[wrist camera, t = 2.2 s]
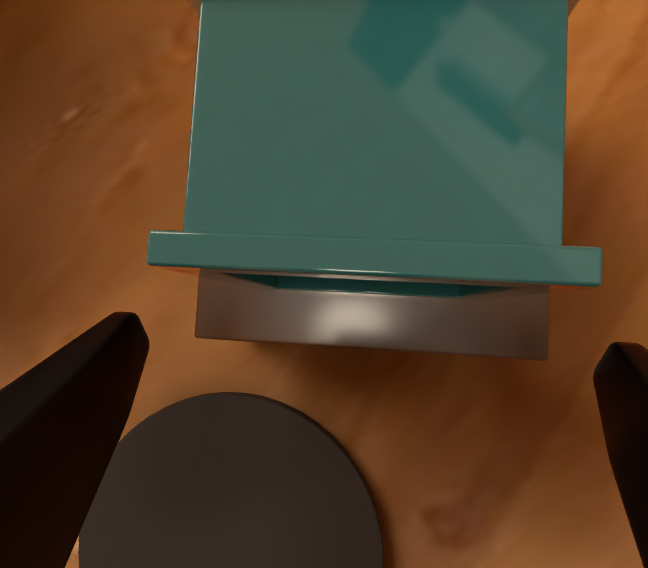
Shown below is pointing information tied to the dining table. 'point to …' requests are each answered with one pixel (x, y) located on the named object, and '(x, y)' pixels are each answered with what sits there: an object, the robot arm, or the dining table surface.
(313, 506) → the mat
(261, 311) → the stand
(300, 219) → the teal rimmed box
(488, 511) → the dining table surface
